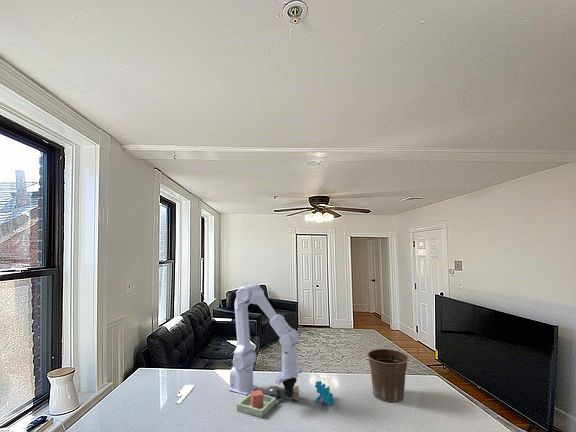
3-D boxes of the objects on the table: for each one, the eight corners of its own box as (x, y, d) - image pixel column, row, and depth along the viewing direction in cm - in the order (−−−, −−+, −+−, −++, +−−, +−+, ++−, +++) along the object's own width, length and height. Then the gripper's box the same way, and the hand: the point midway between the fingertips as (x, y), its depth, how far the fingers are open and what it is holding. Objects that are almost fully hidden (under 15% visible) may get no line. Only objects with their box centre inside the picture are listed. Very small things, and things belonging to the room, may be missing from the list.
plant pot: (385, 409, 128) (385, 365, 128) (359, 390, 142) (359, 351, 143) (417, 400, 134) (417, 359, 135) (390, 383, 149) (389, 346, 150)
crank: (268, 399, 133) (268, 391, 133) (269, 393, 138) (269, 385, 138) (298, 400, 132) (298, 391, 133) (298, 394, 137) (298, 386, 138)
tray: (236, 410, 126) (236, 403, 126) (252, 398, 136) (252, 391, 136) (261, 418, 121) (261, 411, 121) (276, 404, 131) (276, 397, 131)
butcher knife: (167, 404, 131) (167, 401, 131) (183, 386, 146) (183, 384, 146) (180, 405, 131) (179, 402, 131) (194, 387, 145) (194, 384, 146)
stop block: (252, 409, 126) (253, 396, 126) (250, 404, 130) (250, 391, 130) (263, 408, 127) (263, 394, 127) (260, 402, 131) (260, 389, 131)
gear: (331, 407, 126) (314, 383, 130) (320, 416, 127) (303, 392, 131) (339, 398, 136) (323, 376, 140) (328, 407, 137) (313, 385, 141)
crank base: (263, 400, 134) (263, 398, 134) (275, 389, 143) (275, 388, 143) (277, 404, 131) (277, 402, 131) (288, 393, 140) (288, 391, 140)
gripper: (285, 370, 126) (285, 407, 125) (307, 358, 137) (307, 392, 136) (271, 365, 130) (270, 401, 129) (294, 354, 141) (293, 387, 141)
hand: (288, 396), depth 133 cm, fingers closed, pressing on crank
